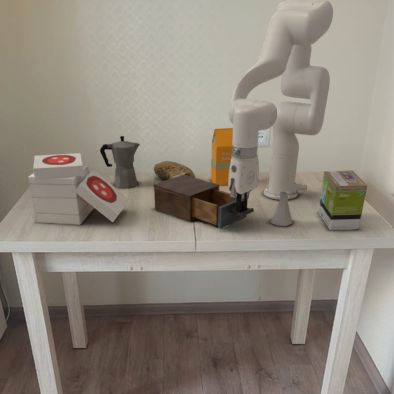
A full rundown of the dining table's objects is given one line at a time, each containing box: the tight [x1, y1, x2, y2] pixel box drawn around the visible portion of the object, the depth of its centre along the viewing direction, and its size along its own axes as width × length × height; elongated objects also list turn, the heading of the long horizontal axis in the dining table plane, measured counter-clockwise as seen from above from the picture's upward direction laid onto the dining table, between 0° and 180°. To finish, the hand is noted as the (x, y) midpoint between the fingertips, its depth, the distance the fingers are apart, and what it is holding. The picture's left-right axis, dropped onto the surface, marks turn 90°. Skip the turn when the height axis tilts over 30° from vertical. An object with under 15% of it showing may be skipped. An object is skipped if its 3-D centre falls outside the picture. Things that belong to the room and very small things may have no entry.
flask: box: [270, 191, 293, 227], centre depth 159 cm, size 7×7×10 cm
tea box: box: [317, 170, 368, 231], centre depth 159 cm, size 15×10×15 cm, turn 3°
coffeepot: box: [99, 135, 141, 189], centre depth 187 cm, size 15×9×18 cm, turn 111°
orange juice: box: [210, 127, 233, 186], centre depth 190 cm, size 8×9×20 cm
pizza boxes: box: [27, 152, 130, 226], centre depth 161 cm, size 19×30×18 cm, turn 83°
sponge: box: [153, 160, 196, 180], centre depth 195 cm, size 13×8×20 cm
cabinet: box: [153, 175, 220, 223], centre depth 169 cm, size 17×15×9 cm
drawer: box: [192, 189, 255, 230], centre depth 160 cm, size 21×14×7 cm, turn 48°
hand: (241, 211), depth 156 cm, fingers closed
